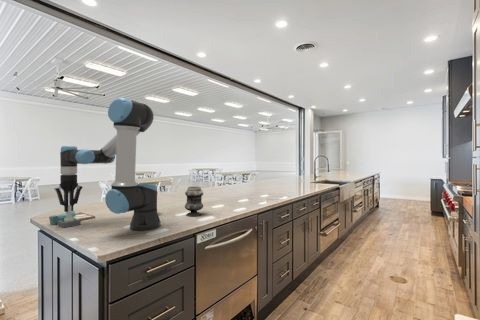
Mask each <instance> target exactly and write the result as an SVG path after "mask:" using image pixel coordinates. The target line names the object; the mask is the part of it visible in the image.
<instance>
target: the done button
mask: <svg viewBox="0 0 480 320" xmlns="http://www.w3.org/2000/svg"><path fill="white" fill-rule="evenodd" d="M70 221H74V217H71V218H64V222H70Z"/></svg>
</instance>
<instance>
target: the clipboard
mask: <svg viewBox="0 0 480 320" xmlns="http://www.w3.org/2000/svg"><path fill="white" fill-rule="evenodd" d="M75 214H76V216H75V217H74V218H76V219H79V220H80V222H81V221H87V220H92V219H96V216H95V215H92V214H88V213H85V212H75Z"/></svg>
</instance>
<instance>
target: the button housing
mask: <svg viewBox="0 0 480 320" xmlns="http://www.w3.org/2000/svg"><path fill="white" fill-rule="evenodd" d="M56 225H57V227H60V228H63V229H65V228H70V227H74V226H76V227H77V226H79V225H81V221H80V220H79V219H76V218H74V221H70V222H64V220H60V221H57V224H56Z"/></svg>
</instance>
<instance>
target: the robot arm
mask: <svg viewBox="0 0 480 320" xmlns="http://www.w3.org/2000/svg"><path fill="white" fill-rule="evenodd" d="M107 116H108V118H109V120H110V121H111V122H113V128H114V129H115V130H116V134H115V135H114V136H113V137H112V139H110V140H109V141H108V142H107V143H106V144H105V145H104V146H103V147H101V149H86V148H85V149H78V147H77V146H74V145H62V146H61V147H60V152H59V155H60V157H59V158H60V159H59V160H60V175H59V176H60V184H58V185H59V186H57V187H54V191H55V192H56V194H57V198H58V201H59V204H60V206H63V208H64V209H63V211H64V213H66V217H67V218H71V211H74V206H75V205H76V204H78V201H79V197H80V195H81V190H82V189H83V188H84V187H83V186H82V185H79V183H78V175H77V174H78V165H80V164H81V165H91V164H105V165H106V164H112V163H114V161H115V180H114V182H113V183H111V188H110V189H109V190H108V191H107V193H106V194H105V198H104V201H105V205H106V207H107V208H108V209H109V211H110V212H111V213H114V214H118V215H119V214H126V213H129V212H133V214H132V217H131V221H130V223H129V228H130V230H133V231H150V230H153V229H154V230H155V229H158V228H159V227H160V226H161V220H160V216H159V213H158V193H157V192H158V186H157V185H156V184H153V183H138V182H137V181H136V161H137V160H136V158H137V157H136V156H137V136H138V135H139V134H141V133H145V132H146V131H147V130H148V129H149V128H150V127H151V126H152V124H153V122H154V118H155V117H154V112H153V110H152V108H151V107H150V105H148V104H146V103H143V102H138V101H136V100H133V99H130V98H124V97H116V98H115V99H114V100H113V101H112V102H111V103H110V104H109V106H108V110H107ZM61 190H62V191H63V195H62V191H61Z"/></svg>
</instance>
